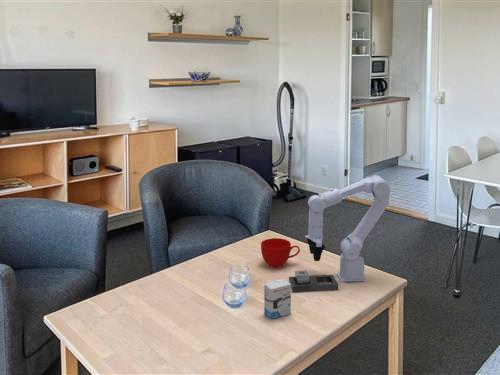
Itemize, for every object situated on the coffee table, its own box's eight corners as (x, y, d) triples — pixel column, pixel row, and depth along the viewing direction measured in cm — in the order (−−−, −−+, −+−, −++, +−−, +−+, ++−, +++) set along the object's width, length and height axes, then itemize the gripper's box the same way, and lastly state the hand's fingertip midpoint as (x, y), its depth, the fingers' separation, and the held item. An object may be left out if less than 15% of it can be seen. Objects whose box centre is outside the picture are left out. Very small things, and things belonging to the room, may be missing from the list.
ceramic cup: (300, 270, 214) (301, 248, 211) (261, 271, 214) (260, 249, 212) (298, 258, 227) (298, 237, 224) (260, 259, 227) (260, 238, 224)
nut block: (306, 283, 202) (306, 269, 201) (308, 288, 198) (308, 274, 196) (295, 284, 202) (295, 270, 200) (297, 289, 197) (297, 275, 196)
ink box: (270, 319, 175) (270, 289, 172) (263, 313, 180) (263, 283, 177) (291, 313, 179) (291, 283, 176) (284, 307, 183) (284, 278, 180)
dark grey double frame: (332, 280, 205) (332, 274, 204) (338, 290, 196) (338, 284, 196) (288, 282, 204) (289, 276, 203) (292, 292, 195) (292, 286, 194)
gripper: (302, 219, 208) (301, 250, 211) (309, 232, 194) (308, 264, 197) (319, 219, 208) (318, 249, 212) (327, 231, 194) (326, 263, 198)
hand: (314, 257), depth 204 cm, fingers open, 7 cm apart
